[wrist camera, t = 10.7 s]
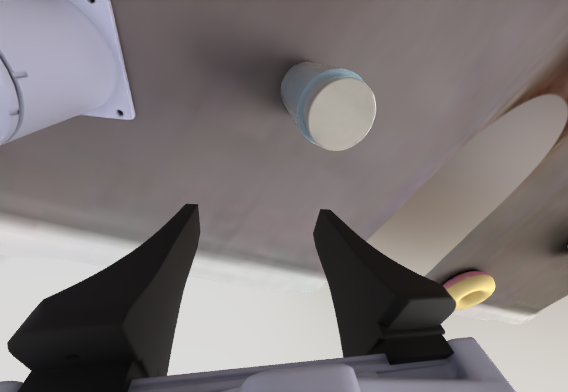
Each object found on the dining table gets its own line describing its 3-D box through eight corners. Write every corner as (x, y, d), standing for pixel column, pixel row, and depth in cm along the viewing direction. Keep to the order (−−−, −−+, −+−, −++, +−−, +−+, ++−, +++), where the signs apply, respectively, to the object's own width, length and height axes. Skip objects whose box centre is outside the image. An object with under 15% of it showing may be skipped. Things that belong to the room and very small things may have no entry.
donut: (478, 269, 45) (468, 258, 39) (503, 287, 41) (497, 279, 36) (440, 300, 47) (426, 294, 42) (462, 320, 43) (449, 317, 38)
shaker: (277, 113, 20) (295, 152, 12) (284, 57, 17) (312, 63, 10) (322, 119, 20) (365, 159, 13) (335, 66, 18) (396, 78, 11)
